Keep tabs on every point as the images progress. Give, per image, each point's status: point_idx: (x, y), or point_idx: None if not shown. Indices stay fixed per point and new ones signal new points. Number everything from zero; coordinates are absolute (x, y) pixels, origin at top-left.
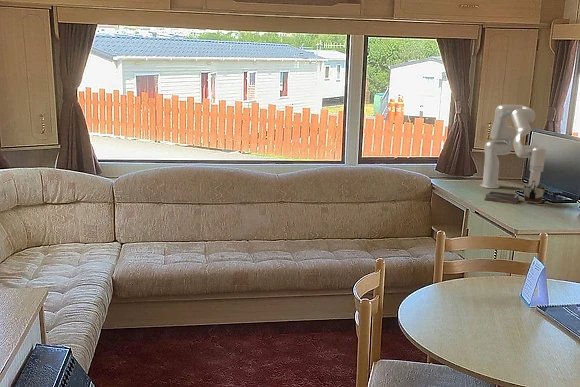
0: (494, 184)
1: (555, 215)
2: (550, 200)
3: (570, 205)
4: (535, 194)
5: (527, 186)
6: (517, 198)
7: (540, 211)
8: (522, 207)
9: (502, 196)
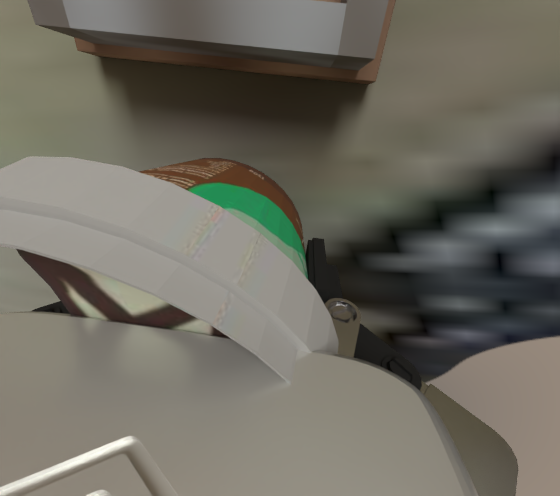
0: None
1: None
2: (429, 342)
3: None
4: None
5: (52, 288)
6: (252, 56)
7: (23, 273)
8: (14, 146)
9: None
